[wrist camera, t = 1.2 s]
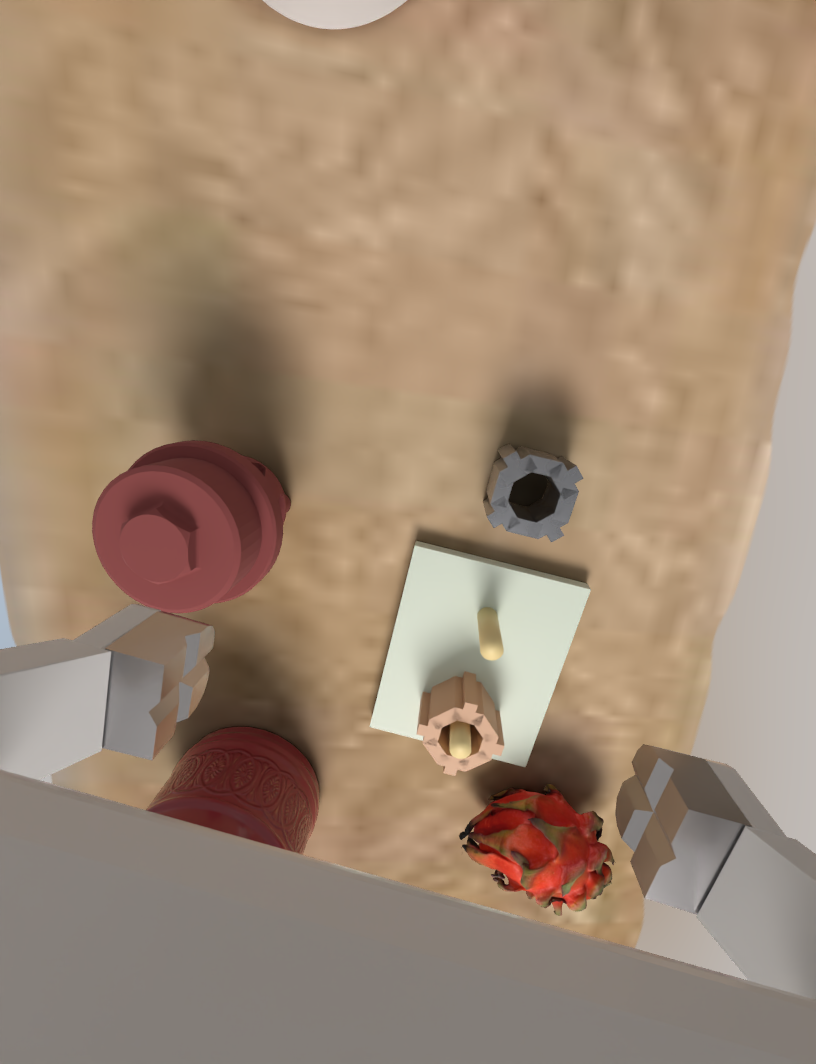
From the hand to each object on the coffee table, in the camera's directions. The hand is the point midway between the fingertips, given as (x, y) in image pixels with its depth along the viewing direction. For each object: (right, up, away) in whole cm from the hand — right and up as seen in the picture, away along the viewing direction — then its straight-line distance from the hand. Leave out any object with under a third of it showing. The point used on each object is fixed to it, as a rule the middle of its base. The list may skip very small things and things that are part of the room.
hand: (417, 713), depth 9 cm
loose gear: (+8, +7, +26) cm, 28 cm away
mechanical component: (-12, +6, +29) cm, 32 cm away
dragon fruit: (+10, -20, +34) cm, 41 cm away
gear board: (+5, -6, +30) cm, 31 cm away
